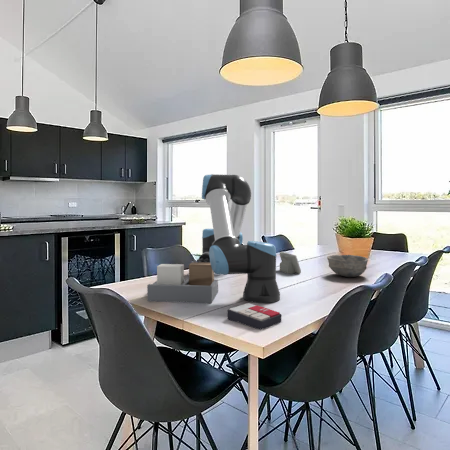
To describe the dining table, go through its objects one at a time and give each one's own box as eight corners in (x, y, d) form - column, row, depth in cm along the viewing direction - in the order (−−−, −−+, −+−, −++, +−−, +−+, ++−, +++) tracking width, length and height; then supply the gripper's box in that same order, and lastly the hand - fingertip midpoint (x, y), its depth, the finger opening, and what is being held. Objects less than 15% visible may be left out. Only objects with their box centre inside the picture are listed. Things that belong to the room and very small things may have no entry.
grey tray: (211, 303, 149) (211, 286, 149) (147, 301, 153) (147, 285, 152) (218, 292, 167) (218, 277, 167) (160, 290, 170) (160, 276, 170)
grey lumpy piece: (302, 274, 206) (302, 254, 205) (286, 275, 204) (286, 255, 204) (292, 269, 222) (292, 250, 221) (277, 269, 220) (277, 251, 220)
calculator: (261, 319, 119) (227, 307, 129) (260, 332, 119) (226, 319, 130) (282, 312, 127) (248, 301, 137) (281, 324, 127) (247, 312, 138)
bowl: (354, 282, 186) (354, 262, 186) (318, 275, 202) (319, 257, 201) (375, 276, 200) (375, 257, 199) (340, 271, 215) (340, 253, 215)
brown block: (212, 290, 162) (211, 265, 162) (189, 289, 164) (188, 264, 163) (214, 287, 168) (214, 262, 168) (191, 286, 170) (191, 262, 169)
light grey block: (180, 293, 158) (180, 266, 157) (157, 292, 159) (156, 266, 159) (184, 289, 164) (183, 264, 163) (161, 289, 165) (161, 263, 164)
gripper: (218, 267, 200) (212, 276, 177) (194, 266, 202) (185, 275, 178) (218, 253, 200) (212, 260, 176) (194, 252, 201) (184, 259, 178)
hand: (198, 268), depth 177 cm, fingers closed
